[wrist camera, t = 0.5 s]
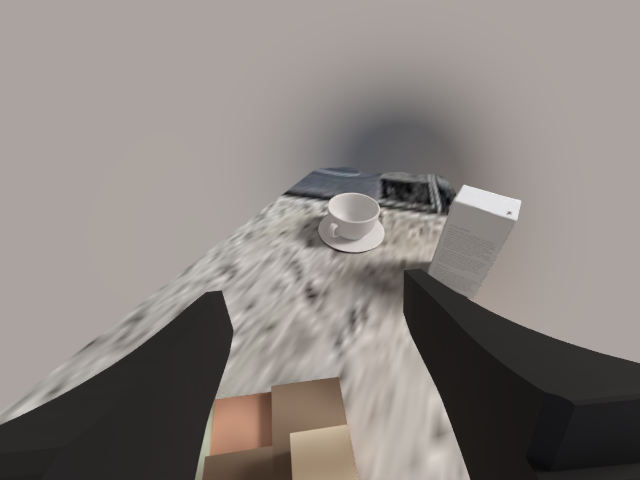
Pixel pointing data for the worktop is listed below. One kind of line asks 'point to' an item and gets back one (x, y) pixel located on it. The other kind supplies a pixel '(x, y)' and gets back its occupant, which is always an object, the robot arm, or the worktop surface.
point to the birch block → (323, 454)
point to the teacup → (352, 223)
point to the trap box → (265, 429)
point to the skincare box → (472, 238)
